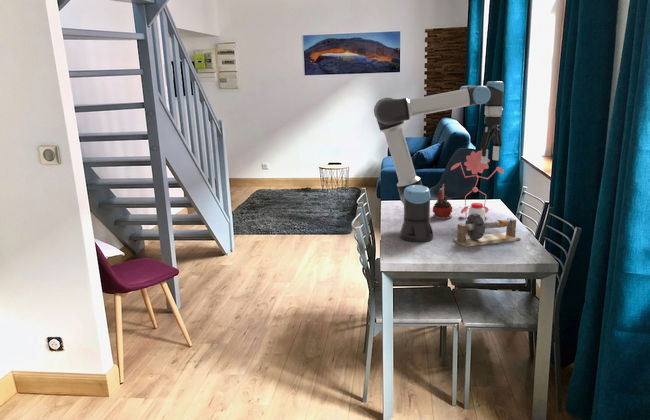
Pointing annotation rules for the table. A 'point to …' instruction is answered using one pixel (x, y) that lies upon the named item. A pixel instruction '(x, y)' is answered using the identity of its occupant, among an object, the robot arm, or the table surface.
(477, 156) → the figurine
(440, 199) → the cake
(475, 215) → the square-toothed gear
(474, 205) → the pill bottle
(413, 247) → the table surface
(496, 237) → the pipe rig
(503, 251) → the table surface
